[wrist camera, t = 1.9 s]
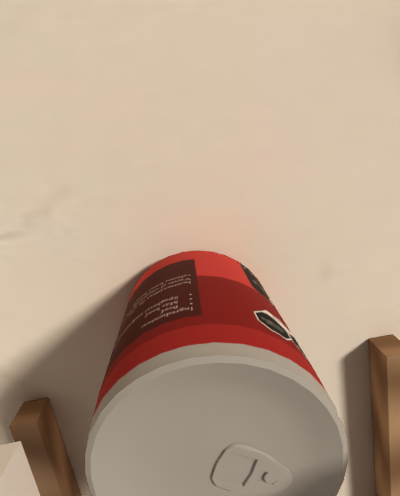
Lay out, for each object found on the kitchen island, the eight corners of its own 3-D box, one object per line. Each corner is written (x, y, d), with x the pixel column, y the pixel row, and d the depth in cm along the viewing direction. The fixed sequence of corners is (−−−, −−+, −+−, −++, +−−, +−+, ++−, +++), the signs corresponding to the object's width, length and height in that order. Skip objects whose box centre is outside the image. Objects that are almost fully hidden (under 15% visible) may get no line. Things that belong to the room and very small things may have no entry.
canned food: (255, 370, 23) (325, 566, 12) (125, 362, 22) (78, 564, 11) (275, 252, 21) (379, 363, 10) (133, 239, 20) (84, 345, 9)
